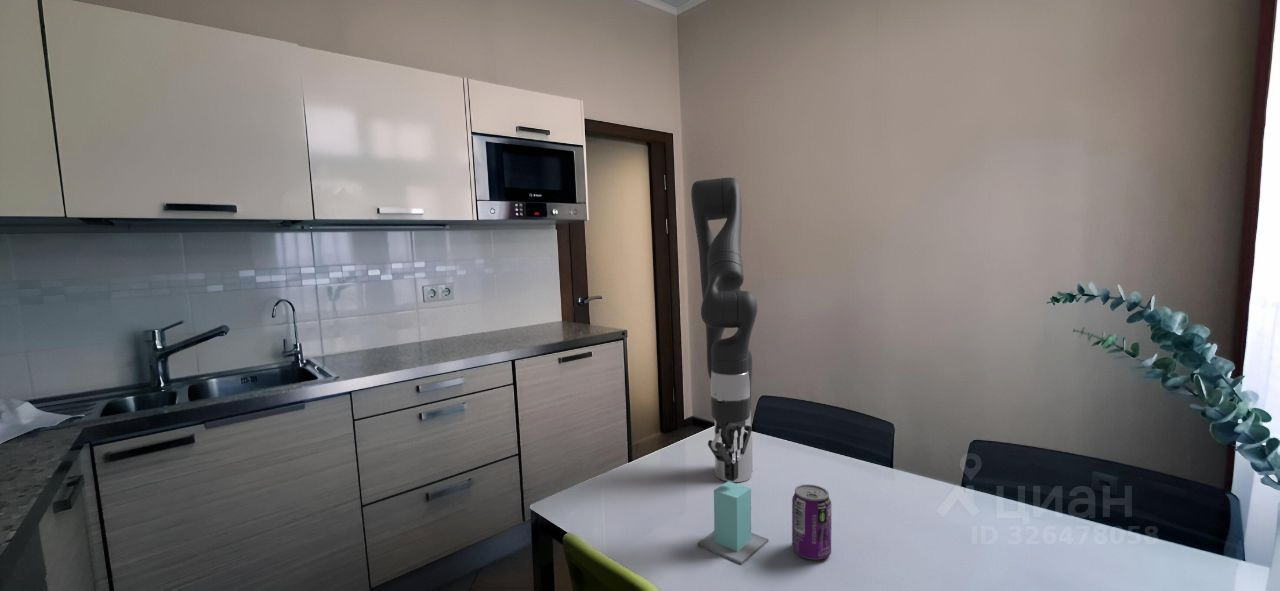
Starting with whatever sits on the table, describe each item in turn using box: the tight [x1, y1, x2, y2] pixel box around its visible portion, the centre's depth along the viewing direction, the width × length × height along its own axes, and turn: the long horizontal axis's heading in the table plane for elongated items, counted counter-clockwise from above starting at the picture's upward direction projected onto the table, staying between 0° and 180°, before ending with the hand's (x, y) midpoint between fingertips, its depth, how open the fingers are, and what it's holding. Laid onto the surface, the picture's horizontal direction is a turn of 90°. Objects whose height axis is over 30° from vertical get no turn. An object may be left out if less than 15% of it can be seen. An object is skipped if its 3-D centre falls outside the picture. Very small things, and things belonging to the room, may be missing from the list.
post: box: [697, 531, 769, 565], centre depth 103 cm, size 10×10×10 cm
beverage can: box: [791, 484, 833, 561], centre depth 100 cm, size 7×7×12 cm
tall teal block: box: [713, 481, 752, 552], centre depth 103 cm, size 5×5×11 cm
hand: (731, 478), depth 104 cm, fingers closed
